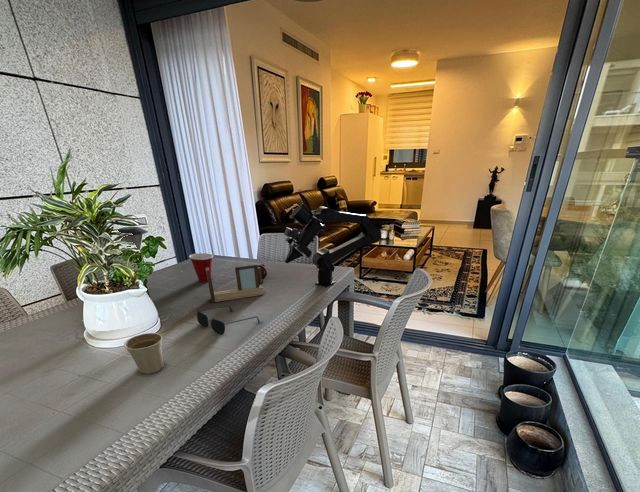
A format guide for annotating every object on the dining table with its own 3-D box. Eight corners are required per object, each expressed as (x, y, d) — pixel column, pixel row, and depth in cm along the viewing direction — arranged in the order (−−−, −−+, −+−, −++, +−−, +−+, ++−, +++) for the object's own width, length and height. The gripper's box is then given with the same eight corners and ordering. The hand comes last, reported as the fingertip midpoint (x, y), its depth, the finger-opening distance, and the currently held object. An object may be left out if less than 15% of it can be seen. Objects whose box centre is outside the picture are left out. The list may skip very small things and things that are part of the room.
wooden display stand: (261, 291, 152) (257, 261, 146) (263, 294, 148) (260, 264, 142) (211, 298, 146) (205, 267, 139) (212, 302, 141) (206, 270, 135)
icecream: (264, 270, 158) (272, 264, 171) (248, 266, 158) (257, 260, 171) (262, 284, 161) (269, 277, 174) (246, 280, 161) (255, 274, 174)
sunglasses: (196, 323, 123) (195, 309, 121) (231, 315, 133) (231, 303, 132) (224, 337, 113) (223, 322, 111) (260, 328, 123) (260, 314, 121)
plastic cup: (214, 283, 164) (209, 257, 158) (191, 283, 164) (185, 258, 158) (220, 276, 173) (216, 252, 168) (198, 277, 173) (193, 252, 168)
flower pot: (146, 381, 91) (137, 352, 87) (125, 371, 96) (116, 344, 92) (176, 365, 98) (169, 337, 94) (155, 356, 103) (148, 330, 99)
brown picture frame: (261, 289, 150) (258, 263, 145) (262, 290, 148) (260, 265, 143) (238, 292, 147) (234, 266, 142) (239, 294, 145) (235, 268, 140)
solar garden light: (170, 300, 145) (152, 224, 131) (159, 312, 134) (138, 230, 120) (141, 301, 145) (119, 225, 130) (127, 313, 134) (102, 231, 120)
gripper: (288, 216, 149) (265, 246, 151) (302, 223, 134) (277, 255, 136) (307, 234, 156) (284, 262, 157) (322, 242, 140) (297, 272, 142)
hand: (285, 262), depth 148 cm, fingers closed
